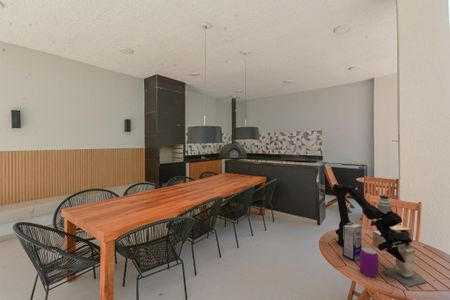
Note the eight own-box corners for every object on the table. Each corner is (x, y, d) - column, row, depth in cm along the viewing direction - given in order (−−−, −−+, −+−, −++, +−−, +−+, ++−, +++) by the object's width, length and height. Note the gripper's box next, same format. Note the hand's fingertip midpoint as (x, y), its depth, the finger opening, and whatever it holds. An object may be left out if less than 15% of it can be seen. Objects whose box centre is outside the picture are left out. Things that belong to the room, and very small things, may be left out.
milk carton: (353, 261, 118) (354, 227, 117) (342, 255, 124) (343, 222, 123) (361, 258, 121) (362, 224, 120) (349, 252, 127) (350, 220, 126)
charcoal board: (408, 287, 97) (408, 285, 97) (383, 271, 108) (383, 270, 108) (426, 282, 100) (426, 281, 100) (400, 268, 112) (400, 266, 111)
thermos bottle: (392, 235, 151) (393, 197, 149) (386, 237, 147) (387, 198, 146) (380, 230, 158) (381, 194, 156) (374, 233, 154) (375, 195, 153)
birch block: (395, 270, 106) (396, 246, 105) (401, 269, 107) (403, 244, 107) (406, 277, 101) (407, 251, 100) (413, 275, 103) (414, 249, 102)
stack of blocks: (380, 249, 131) (380, 230, 131) (372, 244, 137) (372, 226, 137) (410, 247, 133) (411, 229, 133) (401, 243, 139) (402, 225, 139)
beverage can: (356, 270, 110) (357, 248, 109) (365, 266, 113) (366, 245, 112) (371, 279, 103) (372, 255, 102) (381, 275, 106) (381, 252, 105)
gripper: (384, 226, 104) (409, 260, 94) (409, 222, 110) (434, 253, 100) (368, 235, 112) (389, 266, 102) (392, 230, 118) (414, 260, 108)
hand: (407, 261), depth 103 cm, fingers closed on birch block, 5 cm apart
